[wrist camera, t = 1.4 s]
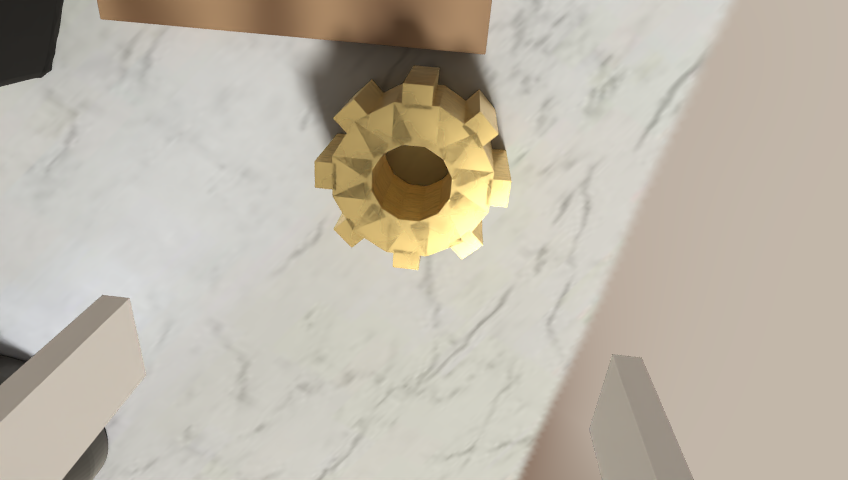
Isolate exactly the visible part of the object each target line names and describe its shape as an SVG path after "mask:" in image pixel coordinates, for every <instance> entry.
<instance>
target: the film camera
mask: <svg viewBox="0 0 848 480" xmlns="http://www.w3.org/2000/svg"><path fill="white" fill-rule="evenodd" d="M63 1H64V0H0V87H1V86H5V85H9V84H13V83H17V82H21V81H25V80H29V79H33V78H42V77H43V76H44V75H45V74H46V73H48V72H49V71H51V70H52V62H53V58H54V55H55V48H56V41H57V37H58V34H59V28H60V22H61V14H62V6H63Z"/></svg>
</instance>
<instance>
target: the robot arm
mask: <svg viewBox="0 0 848 480" xmlns="http://www.w3.org/2000/svg"><path fill="white" fill-rule="evenodd" d="M145 376H146V371H145V367H144V362H143V358H142V353H141V348H140V344H139V339H138V335H137V330H136V325H135V321H134V316H133V312H132V307H131V302H130V298H124V297H115V296H107V295H102V296H101V297H100V298H99V299H97V300H96V301H95V302H94V303H93V304H92V305H91V306H89V307H88V308H87V309H86V310H85V311H84V312H83V313H82V314H80V315H79V316H78V317H77V318H76V319H75V320H74V321H72V322H71V323H70V324H69V325H68V326H67V327H66V328H65V329H63V330H62V331H61V332H60V333H59V334H58V335H57V336H55V337H54V338H53V339H52V340H51V341H50V342H49V343H47V344H46V345H45V346H44V347H43V348H42V349H41V350H40V351H38V352H37V353H36V354H35V355H34V356H33V357H32V358H30V359H29V360H28V361H27V362H23V361H20V360H17V359H14V358H10V357H6V356H1V355H0V480H93V478H94V477H95V476H96V474H97V473H98V472H99V470H100V469H101V468H102V466H103V465H104V463H105V461H106V458H107V454H108V442H107V437H106V433H105V430H104V427H105V426H106V425H107V423H108V422H109V421H110V420H111V418H112V417H113V416H114V415H115V413H116V412H117V411H118V410H119V408H120V407H121V406H122V405H123V403H124V402H125V401H126V400H127V398H128V397H129V396H130V395H131V393H132V392H133V391H134V390H135V388H136V387H137V386H138V385H139V384H140V382H141V381H142V380H143V379H144V377H145ZM589 430H590V434H591V438H592V442H593V447H594V451H595V455H596V459H597V463H598V467H599V471H600V475H601V478H602V480H694V479H693V477H692V474H691V472H690V470H689V467H688V465H687V463H686V460H685V458H684V456H683V453H682V451H681V449H680V446H679V444H678V442H677V439H676V437H675V435H674V432H673V430H672V427H671V425H670V423H669V420H668V418H667V416H666V413H665V411H664V409H663V406H662V404H661V402H660V399H659V397H658V395H657V392H656V390H655V388H654V385H653V383H652V381H651V378H650V376H649V373H648V371H647V369H646V366H645V364H644V362H643V359H642V358H640V357H631V356H622V355H614V354H612V358H611V361H610V364H609V367H608V370H607V374H606V377H605V380H604V383H603V387H602V390H601V393H600V396H599V400H598V403H597V406H596V409H595V412H594V416H593V419H592V422H591V425H590V428H589Z"/></svg>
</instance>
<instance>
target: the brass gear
mask: <svg viewBox="0 0 848 480" xmlns="http://www.w3.org/2000/svg"><path fill="white" fill-rule="evenodd" d="M439 69H440V68H437V67H427V66H416V65H414V66H413V68H412V69H411V71H410V73H409V74H408V76H407V78H406V79H405V81H404V83H402V84H400V85H398V86H396V87H394V88H392V89H390V90H388V91H386V92H384V93H383V91H382V90H381V89H380V88H379V87H378V86H377V84H376V83H375V82H374V81H373V80H370V81H369V82H368V83H367V84H366V85H365V86H364V87H363V88H362V89H361V90H360V91H358V92H357V93H356V94H355V95H354V96H353V97H352V98H351V99H350V100H349V101H348V103H347V104H346V105H345V106H344V107H343V108H342V109H341V110H340V111H339V112H338V113H337V114H336V115H335V117H334V118H333V119H334V120H335V121H336V122H337V123H338V124H339V125H340V126H341V127H342V129H343V130H344V131H345V132H346V133H347V134H338V133H337V135H336V136H335V137H334V138H333V139H332V141H331V142H330V143H329V144H328V146H327V147H326V148H325V149H324V151H323V152H322V153H321V154H320V155H319V157H318V158H317V159H316V160H315V188H324V189H333V198H334V199H335V201H336V203H337V205H338V206H339V208H340V210H341V211H342V214H341V216H340V218H339V220H338V222H337V224H336V225H335V227H334V230H335V231H336V232H337V233H338V234H339V235H340V236H341V237H342V238H343V239H344V240H345V241H346V242H347V243H348V244H349V245H350V246H351V247H353V246H354V245H356V244H357V243H358V242H360V241H361V240H362V239H363V238H365V239H367V240H369V241H370V242H372V243H373V244H375V245H376V246H378V247H380V248H381V249H383V250H384V251H386V252H392V253H394V254H393V267H396V268H406V269H415V270H418V269H419V263H420V258H421V256H428V255H431V254H434V253H436V252H439V251H441V250H444V249H447V248H449V247H451V248H452V249H453V250H454V251H455V252H456V253H457V255H458V256H459V257H460V258H461V259H463V258H465V257H466V256H467V255H469V254H470V253H472V252H473V251H475V250H476V249H478V248H479V247H481V246H482V245H483V237H482V219H483V218H484V217H485V216H486V214H487V213H488V211H489V205H490V206H499V207H507V205H508V199H509V193H510V187H511V176H510V171H509V165H508V159H507V154H506V150H500V149H492V146H491V140H492V139H493V138H495V137H496V136H497V135H498V134H499V133H498V126H497V119H496V113H495V109H494V107H493V106H492V105H491V103H490V102H489V101H488V100H487V98H486V97H485V96H484V95H483V93H482V92H481V91H480V89H479V90H478V91H477V92H475V93H474V94H473V95H472V96H471V97H469V98H468V99H467V100H465V99H463V98H462V97H460V96H459V95H458V94H456V93H455V92H453V91H452V90H451V89H449V88H448V87H447V86H445V85H438V81H439ZM401 145H410V146H420V147H426V148H427V149H429V150H430V151H432V152H433V153H434V154H436V155H437V156H439V157H440V158H442V159H443V160H444V162H445V164H446V167H447V169H448V171H449V172H448V173H447V175H446V176H445V177H444V178H443V179H442V180H440V181H438V182H435V183H433V184H430V185H428V186H421V185H411V184H408V183H406V182H405V181H403V180H402V179H400V178H399V177H397V176H396V175H394V173H393V171H392V169H391V167H390V165H389V164H388V162H387V160H386V152H388V151H390V150H393V149H395V148H397V147H399V146H401Z"/></svg>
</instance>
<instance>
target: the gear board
mask: <svg viewBox="0 0 848 480" xmlns="http://www.w3.org/2000/svg"><path fill="white" fill-rule="evenodd" d="M97 3H98V8H99V13H100V18H101V19H105V20H116V21H127V22H137V23H148V24H159V25H170V26H181V27H192V28H203V29H214V30H225V31H236V32H247V33H257V34H268V35H279V36H290V37H301V38H312V39H323V40H334V41H345V42H356V43H366V44H377V45H388V46H399V47H410V48H421V49H432V50H443V51H454V52H465V53H476V54H485V52H486V44H487V36H488V28H489V20H490V12H491V4H492V0H97Z"/></svg>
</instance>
